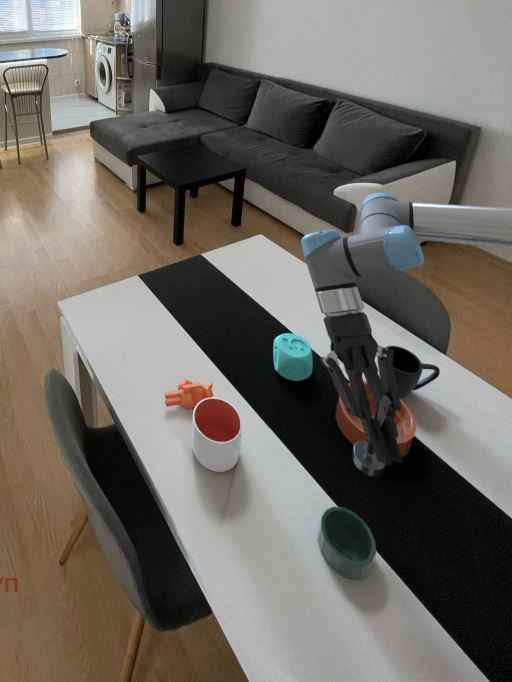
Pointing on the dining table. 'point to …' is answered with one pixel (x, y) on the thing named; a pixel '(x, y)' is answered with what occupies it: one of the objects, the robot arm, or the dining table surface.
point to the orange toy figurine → (188, 394)
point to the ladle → (371, 445)
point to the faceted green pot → (346, 543)
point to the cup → (216, 434)
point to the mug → (410, 371)
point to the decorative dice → (292, 357)
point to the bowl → (353, 424)
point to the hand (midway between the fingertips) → (390, 461)
